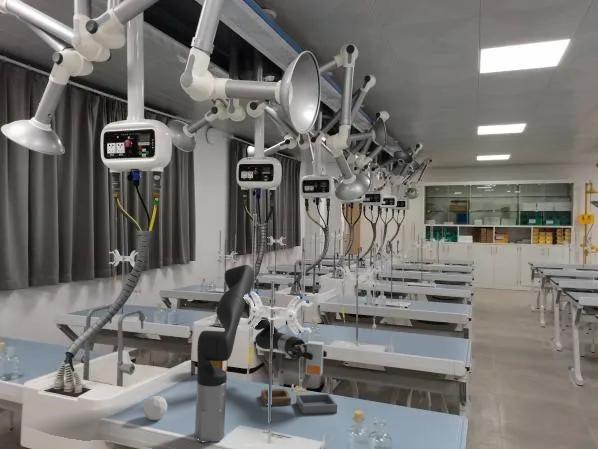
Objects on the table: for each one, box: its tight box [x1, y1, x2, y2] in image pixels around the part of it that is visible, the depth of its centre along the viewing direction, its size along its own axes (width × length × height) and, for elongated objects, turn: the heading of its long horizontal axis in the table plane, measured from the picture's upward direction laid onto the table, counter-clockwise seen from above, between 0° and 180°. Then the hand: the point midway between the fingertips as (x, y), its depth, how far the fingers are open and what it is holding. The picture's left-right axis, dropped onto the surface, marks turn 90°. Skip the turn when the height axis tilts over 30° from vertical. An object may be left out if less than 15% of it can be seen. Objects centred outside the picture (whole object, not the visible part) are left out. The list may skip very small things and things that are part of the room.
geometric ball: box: [142, 395, 168, 421], centre depth 153 cm, size 8×8×8 cm
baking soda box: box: [211, 359, 229, 373], centre depth 204 cm, size 10×6×16 cm
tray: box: [295, 393, 338, 416], centre depth 169 cm, size 11×13×3 cm
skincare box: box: [304, 340, 325, 377], centre depth 170 cm, size 6×4×12 cm
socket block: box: [260, 388, 292, 407], centre depth 175 cm, size 10×10×2 cm
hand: (319, 355), depth 169 cm, fingers closed on skincare box, 6 cm apart
